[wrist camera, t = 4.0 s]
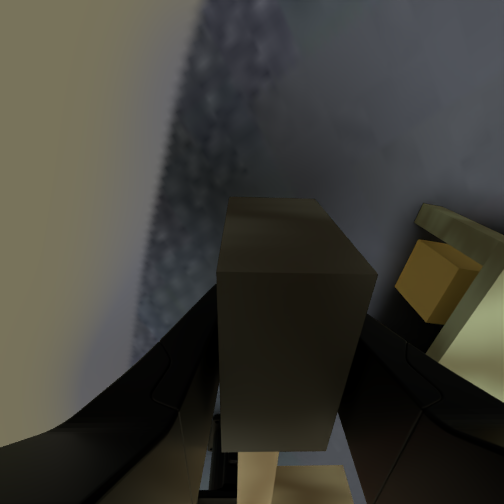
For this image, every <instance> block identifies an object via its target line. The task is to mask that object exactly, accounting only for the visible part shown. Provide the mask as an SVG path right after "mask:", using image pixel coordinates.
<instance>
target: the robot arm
mask: <svg viewBox="0 0 504 504" xmlns="http://www.w3.org/2000/svg"><path fill="white" fill-rule="evenodd" d="M219 381H220V379H219V344H218V310H217V284H215V285H214V286H213V287H212V288H211V289H210V290H209V291H208V292H207V293H206V294H205V295H204V296H203V297H202V298H201V299H200V300H199V301H198V302H197V303H196V304H195V305H194V306H193V307H192V308H191V309H190V310H189V311H188V312H187V313H186V314H185V315H184V316H183V317H182V318H181V319H180V320H179V321H178V322H177V323H176V324H175V325H174V326H173V327H172V328H171V329H170V331H169V332H168V333H167V334H166V335H165V336H164V337H163V338H162V339H161V340H160V342H158V343H157V344H156V345H155V346H154V347H153V348H152V349H151V350H150V351H149V352H148V353H146V354H145V355H144V356H143V357H142V358H141V359H140V360H139V361H138V362H137V363H136V364H135V365H134V366H132V367H131V368H130V369H129V370H128V371H127V372H125V373H124V374H123V375H122V376H121V377H120V378H118V379H117V380H116V381H115V382H114V383H112V384H111V385H110V386H109V387H108V388H106V389H105V390H104V391H103V392H102V393H100V394H99V395H98V396H97V397H96V398H94V399H93V400H92V401H91V402H89V403H88V404H87V405H86V406H85V407H83V408H82V409H81V410H80V411H79V412H77V413H76V414H75V415H74V416H72V417H71V418H69V419H68V420H67V421H65V422H64V423H62V424H60V425H59V426H57V427H55V428H53V429H51V430H49V431H47V432H45V433H42V434H39V435H37V436H33V437H30V438H27V439H24V440H21V441H18V442H15V443H12V444H9V445H6V446H3V447H0V504H237V477H238V452H222V448H221V416H215V417H213V413H214V407H215V402H216V397H217V391H218V386H219ZM338 414H339V417H340V420H341V424H342V427H343V430H344V433H345V436H346V439H347V442H348V446H349V449H350V452H351V455H352V458H353V461H354V465H355V468H356V471H357V474H358V477H359V480H360V483H361V487H362V490H363V493H364V496H365V499H366V502H367V504H504V402H502V401H500V400H499V399H497V398H495V397H494V396H492V395H491V394H489V393H487V392H486V391H484V390H482V389H481V388H479V387H477V386H476V385H474V384H472V383H471V382H469V381H467V380H466V379H464V378H462V377H461V376H459V375H458V374H456V373H454V372H453V371H451V370H450V369H448V368H446V367H445V366H443V365H442V364H440V363H438V362H437V361H435V360H434V359H432V358H431V357H429V356H428V355H426V354H425V353H423V352H422V351H420V350H419V349H417V348H416V347H415V346H413V345H412V344H410V343H407V341H406V340H404V339H403V338H401V337H400V336H399V335H397V334H396V333H394V332H393V331H391V330H390V329H388V328H387V327H386V326H384V325H383V324H381V323H380V322H378V321H377V320H376V319H374V318H373V317H371V316H370V315H368V314H366V317H365V320H364V324H363V327H362V331H361V334H360V337H359V341H358V344H357V348H356V351H355V354H354V358H353V361H352V364H351V368H350V371H349V375H348V378H347V381H346V385H345V388H344V392H343V395H342V398H341V402H340V405H339V408H338ZM212 418H213V421H212ZM211 424H212V427H211ZM210 429H211V432H210ZM209 434H210V438H209ZM208 440H209V443H208ZM207 445H208V451H211V452H212V458H211V469H210V479H209V490H199V488H200V483H201V477H202V472H203V467H204V461H205V456H206V450H207Z"/></svg>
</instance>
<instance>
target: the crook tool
mask: <svg viewBox="0 0 504 504" xmlns="http://www.w3.org/2000/svg"><path fill="white" fill-rule="evenodd" d="M216 275H217V310H218V344H219V379H220V414H221V448H222V452H238V477H237V504H354V503H353V499H352V496H351V492H350V489H349V485H348V482H347V478H346V475H345V471H344V468H343V465H322V466H277V461H278V455H279V452H293V451H326V449H327V446H328V442H329V439H330V435H331V432H332V429H333V425H334V422H335V419H336V415H337V412H338V408H339V405H340V402H341V398H342V395H343V392H344V388H345V385H346V381H347V378H348V375H349V371H350V368H351V364H352V361H353V358H354V354H355V351H356V348H357V344H358V341H359V337H360V334H361V331H362V327H363V324H364V320H365V317H366V314H367V310H368V307H369V304H370V300H371V297H372V293H373V290H374V287H375V283H376V280H377V276H378V274H377V272H376V271H375V270H374V269H373V268H372V266H371V265H370V264H369V263H368V262H367V260H366V259H365V258H364V257H363V256H362V255H361V253H360V252H359V251H358V250H357V249H356V247H355V246H354V245H353V244H352V243H351V241H350V240H349V239H348V238H347V237H346V236H345V234H344V233H343V232H342V231H341V230H340V228H339V227H338V226H337V225H336V224H335V222H334V221H333V220H332V219H331V218H330V217H329V215H328V214H327V213H326V212H325V211H324V209H323V208H322V207H321V206H320V205H319V203H318V202H317V201H316V200H315V199H299V198H263V197H229V202H228V208H227V213H226V219H225V225H224V231H223V237H222V242H221V248H220V254H219V260H218V265H217V271H216Z"/></svg>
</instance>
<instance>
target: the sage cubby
mask: <svg viewBox="0 0 504 504" xmlns="http://www.w3.org/2000/svg"><path fill="white" fill-rule="evenodd" d="M414 223H416V224H417V225H419V226H420V227H422V228H424V229H425V230H427V231H428V232H430V233H432V234H433V235H435V236H436V237H438V238H439V239H441V240H443V241H444V242H446V243H447V244H449V245H450V246H452V247H454V248H455V249H457V250H458V251H460V252H462V253H463V254H465V255H466V256H468V257H469V258H471V259H473V260H474V261H476V262H477V263H479V264H481V265H482V266H483V267H482V269H481V270H480V272H479V273H478V275H477V276H476V278H475V279H474V281H473V282H472V284H471V285H470V287H469V288H468V290H467V291H466V293H465V294H464V296H463V297H462V299H461V301H460V302H459V304H458V305H457V307H456V308H455V310H454V311H453V313H452V314H451V316H450V317H449V319H448V320H447V322H446V323H445V325H444V326H443V328H442V329H441V331H440V333H439V334H438V336H437V337H436V339H435V340H434V342H433V343H432V345H431V346H430V348H429V349H428V351H427V352H426V355H428V356H429V357H431V358H432V359H434V360H435V361H437V362H438V363H440V364H442V365H443V366H445V367H446V368H448V369H450V370H451V371H453V372H454V373H456V374H458V375H459V376H461V377H462V378H464V379H466V380H467V381H469V382H471V383H472V384H474V385H476V386H477V387H479V388H481V389H482V390H484V391H486V392H487V393H489V394H491V395H492V396H494V397H495V398H497V399H499V400H500V401H502V402H504V235H502V234H500V233H498V232H496V231H493V230H491V229H489V228H487V227H485V226H483V225H481V224H478V223H476V222H474V221H472V220H470V219H468V218H465V217H463V216H461V215H459V214H457V213H455V212H453V211H450V210H448V209H446V208H444V207H441V206H435V205H430V204H424V203H423V205H422V207H421V209H420V211H419V213H418V216H417V218H416V220H415V222H414Z"/></svg>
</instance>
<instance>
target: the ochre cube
mask: <svg viewBox="0 0 504 504" xmlns="http://www.w3.org/2000/svg"><path fill="white" fill-rule="evenodd" d="M482 267H483V266H482V265H481V264H479V263H477V262H476V261H474V260H473V259H471V258H469V257H468V256H466V255H465V254H463V253H462V252H460V251H458V250H457V249H455V248H454V247H452V246H450V245H449V244H445V243H439V242H433V241H427V240H420V239H418V241H417V243H416V245H415V247H414V249H413V251H412V253H411V255H410V257H409V259H408V261H407V263H406V265H405V267H404V269H403V271H402V273H401V275H400V277H399V279H398V281H397V283H396V285H395V288H396V289H397V290H398V291H399V292H400V293H401V295H402V296H403V297H404V298H405V299H406V300H407V301H408V303H409V304H410V305H411V306H412V307H413V308H414V309H415V311H416V312H417V313H418V314H419V315H420V316H421V317H422V319H423V320H424V321H425V322H426V323H434V324H442V325H445V323H446V322H447V320H448V319H449V317H450V316H451V314H452V313H453V311H454V310H455V308H456V307H457V305H458V304H459V302H460V301H461V299H462V297H463V296H464V294H465V293H466V291H467V290H468V288H469V287H470V285H471V284H472V282H473V281H474V279H475V278H476V276H477V275H478V273H479V272H480V270H481V269H482Z"/></svg>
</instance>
